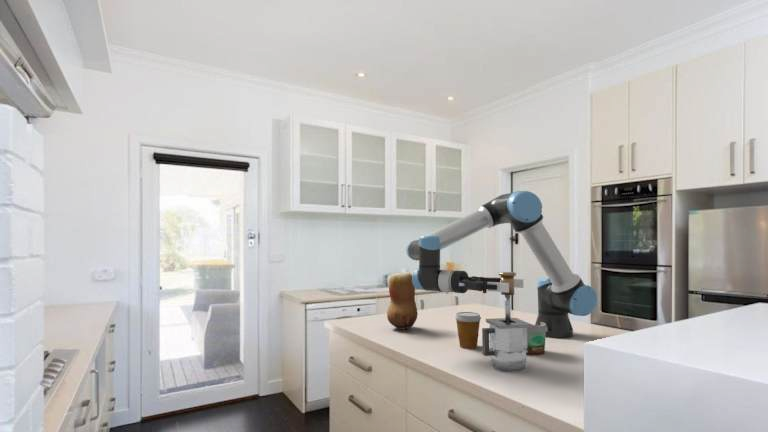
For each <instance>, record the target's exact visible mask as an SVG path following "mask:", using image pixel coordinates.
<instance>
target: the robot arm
mask: <svg viewBox="0 0 768 432" xmlns="http://www.w3.org/2000/svg"><path fill="white" fill-rule="evenodd" d="M542 213H543V204H542V201H541V199H540V198H539V196H537V194H535V193H533V192H531V191H528V190H516V191H515V192H509V193H504V194H501V195H499V196H498V195H497V197H495V198H493V199H491V200H490V201H488V202H486V203H484V204H483V205H480V206H479V207H478V209H477V210H476V211H474V212H471V213H470V214H468V215H465V216H463V217H462V218H459V219H458V220H455V221H453V222H452V223H449V224H447V225H445V226H443V227H441V228H440V229H437V230H435V231H433V232H431V233H429V234H427V235H420V236H419V237H418V239H417V240H413V241H410V242H409V243H407V245H406V251H405V252H406V255H407V256H408V258H410V259H411V260H413V261H418V262H419V263H418V264H419V265H418V268H416V269H414V271H413V272H412V275H413V276H412V283H413V285H414V287H415V289H416V290H423V291H431V292H445V294H449V293H455V294H465V293H467V292H468V290H471V291H478V292H482V294H487V292H494V293H495V292H496V293H501V292H509V283H501V277H484V276H475V275H474V276H473V275H472V276H469V274H468V272H467V271H466V270H453V269H441V250H442V251H443V249H446V248H448V247H450V246H452V245H454V244H456V243H458V242H460V241H462V240H464V239H466V238H468V237H469V236H472V235H473V234H476V233H478V232H479V231H482V230H484V229H486V228H488V229H491V228H493V227H495V226H498V225H502V224H510V225H511V227H512V228H513V230H514V232H515V233H518V234H520V235H522V237H523V239H524V240H525V242H526V244H527V246H528V247H529V249H530V250H531V252H532V254H533V255H534V256H535V258H536V260H537V261H538V263H539V265H540V266H541V268H542V269H543V271H544V273H545V275H546V276H547V277H548V278H541V279H539V280H538V281H537V286H536V287H537V288H536V289H537V309H538V310H537V313H538V314H537V317H536V320H535V323H534V325H538V324H540V322H544V323H546V325H547V328H548V331H547V332H546V337H547V338H556V339H566V338H571V337H574V329H573V326H572V323H571V321H570V317H569V314H571V315H574V316H580V317H585V316H588V315H591V314H592V313H593V311H595V309H596V307H597V303H598V295H597V292H596V290H595V289H594V288H593V287H592V286H590V285H586V284H585V283H584V280H582V278H581V277H580V275H579V274H577V273H573V270H572V269H571V268H570V266H569V265H568V263H567V261H566V260H565V258H564V256H563V255H562V253H561V251H560V250H559V248H558V247H557V245H556V243H555V241H554V240H553V238H552V237H551V235H550V233H549V232H548V230H547V229H546V227H545V225H544V224H543V219H544V215H543V214H542ZM524 286H525V285H524V279H523V278H522V279H521V278H514V288H521V289H524V288H525V287H524ZM546 337H545V338H546Z"/></svg>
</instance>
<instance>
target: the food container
mask: <svg viewBox="0 0 768 432" xmlns="http://www.w3.org/2000/svg"><path fill="white" fill-rule="evenodd" d="M547 331H548V328H547V325H546V323H544V322H540V324H538V325H535V324H532V328H527V349H526V356H531V357H533V356H543V355H545V353H546V352H545V351H546V350H545V349H546V332H547Z"/></svg>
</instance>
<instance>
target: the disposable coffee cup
mask: <svg viewBox="0 0 768 432" xmlns="http://www.w3.org/2000/svg"><path fill="white" fill-rule="evenodd" d="M480 315H481V314H480V313H479V312H473V311H460V312H459V311H458V312H456V314H455V316H454V319H455V321H456V327H457V328H456V329H457V336H458V342H459V343H458V344H459V347H460V348H462V349H467V350H468V349H471V350H472V349H477V348H478V341H479V332H480V323H481V319H482V317H481V316H480Z"/></svg>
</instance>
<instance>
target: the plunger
mask: <svg viewBox="0 0 768 432" xmlns="http://www.w3.org/2000/svg"><path fill="white" fill-rule="evenodd" d="M516 273H517V272H513V271H500V272H498V276H500V278H501V280H500V283H509V292H500V294H501V295H502V296H504V312H505V313H504V314H505V316H504V318H505V323H511V318H512V317H511V313H512V312H511V296H515V287H514V279H515V277H516V276H517V274H516Z"/></svg>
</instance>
